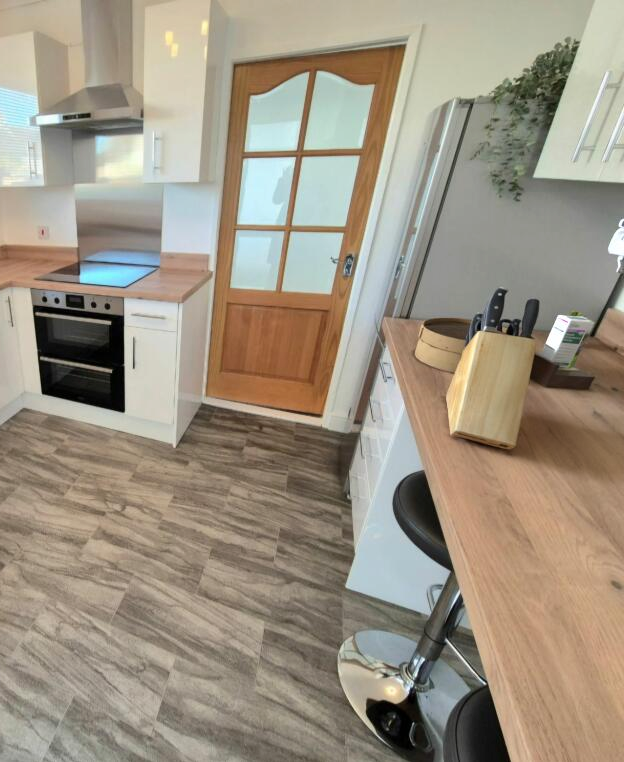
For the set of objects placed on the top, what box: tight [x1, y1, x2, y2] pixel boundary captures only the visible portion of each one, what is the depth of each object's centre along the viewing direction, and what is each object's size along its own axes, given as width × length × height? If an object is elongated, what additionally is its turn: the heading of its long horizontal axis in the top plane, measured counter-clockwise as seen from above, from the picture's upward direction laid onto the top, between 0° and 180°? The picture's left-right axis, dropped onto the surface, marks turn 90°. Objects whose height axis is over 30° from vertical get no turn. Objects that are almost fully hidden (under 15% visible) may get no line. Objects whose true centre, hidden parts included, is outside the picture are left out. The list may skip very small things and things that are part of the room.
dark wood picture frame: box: [529, 351, 596, 390], centre depth 129 cm, size 11×16×7 cm
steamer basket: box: [414, 317, 520, 374], centre depth 139 cm, size 25×25×11 cm
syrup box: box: [540, 314, 595, 368], centre depth 126 cm, size 6×6×14 cm
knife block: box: [445, 286, 541, 450], centre depth 103 cm, size 11×35×31 cm, turn 147°
